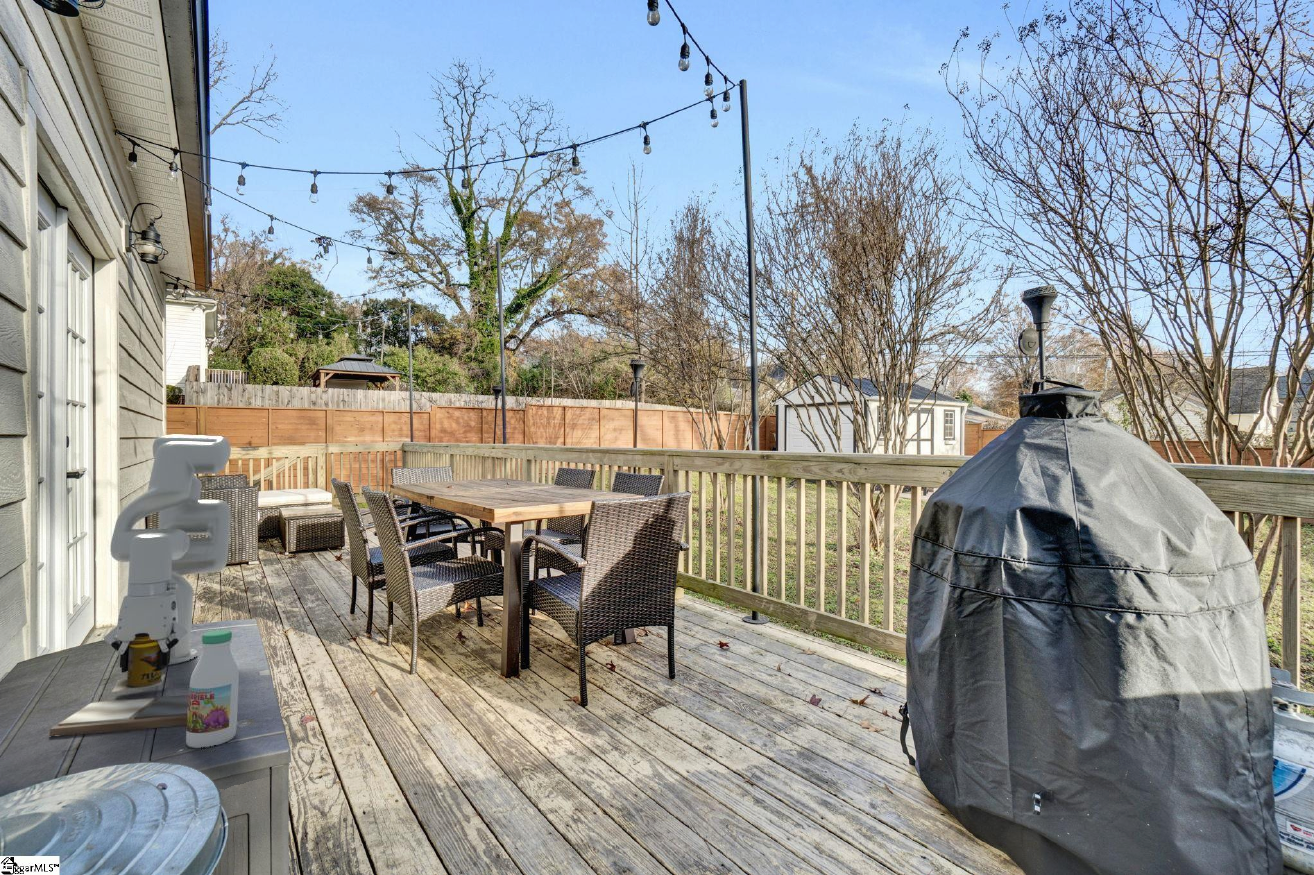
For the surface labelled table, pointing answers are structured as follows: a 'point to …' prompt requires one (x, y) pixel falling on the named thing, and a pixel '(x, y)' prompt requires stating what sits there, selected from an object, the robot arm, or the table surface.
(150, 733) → the table surface
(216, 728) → the milk bottle
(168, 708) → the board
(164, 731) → the table surface
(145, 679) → the condiment
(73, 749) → the table surface
